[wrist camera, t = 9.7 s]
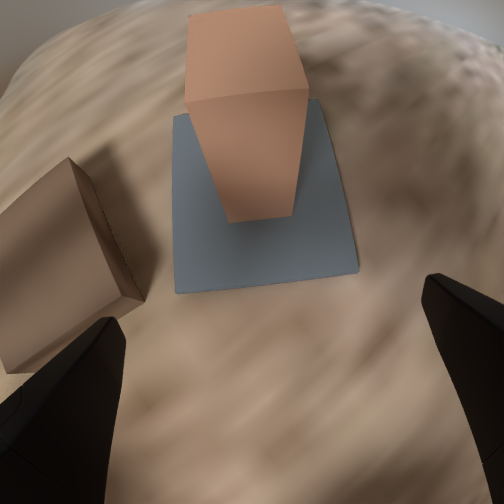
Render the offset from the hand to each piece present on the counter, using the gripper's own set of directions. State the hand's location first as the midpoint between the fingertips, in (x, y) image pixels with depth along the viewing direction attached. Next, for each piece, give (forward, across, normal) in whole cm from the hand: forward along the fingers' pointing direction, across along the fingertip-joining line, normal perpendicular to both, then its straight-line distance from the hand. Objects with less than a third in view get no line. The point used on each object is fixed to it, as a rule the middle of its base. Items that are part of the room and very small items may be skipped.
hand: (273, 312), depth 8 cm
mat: (+12, 0, 0) cm, 12 cm away
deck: (+9, +14, +3) cm, 17 cm away
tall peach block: (+12, 0, 0) cm, 12 cm away
